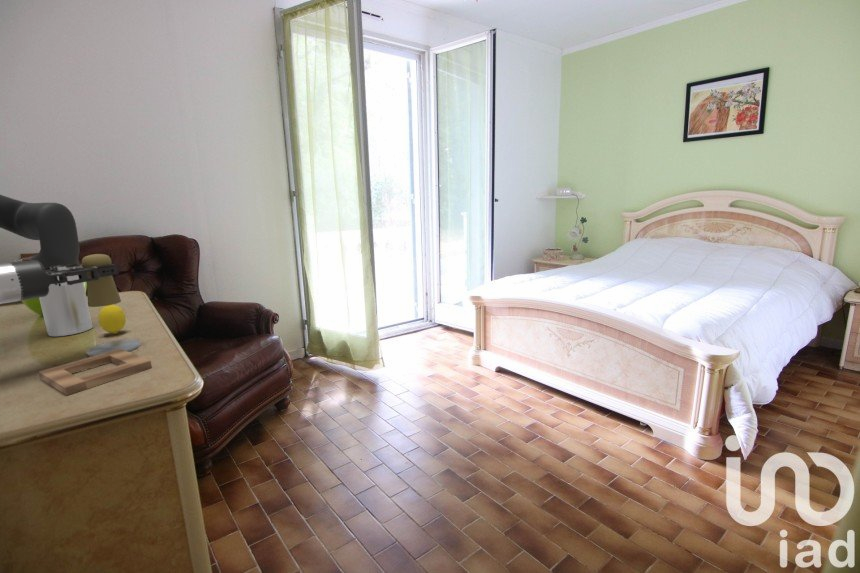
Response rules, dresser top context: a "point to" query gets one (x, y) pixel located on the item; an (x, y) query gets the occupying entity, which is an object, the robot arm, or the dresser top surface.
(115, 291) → the cork
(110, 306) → the lemon
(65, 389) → the walnut board
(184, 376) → the dresser top surface
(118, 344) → the slate coaster
